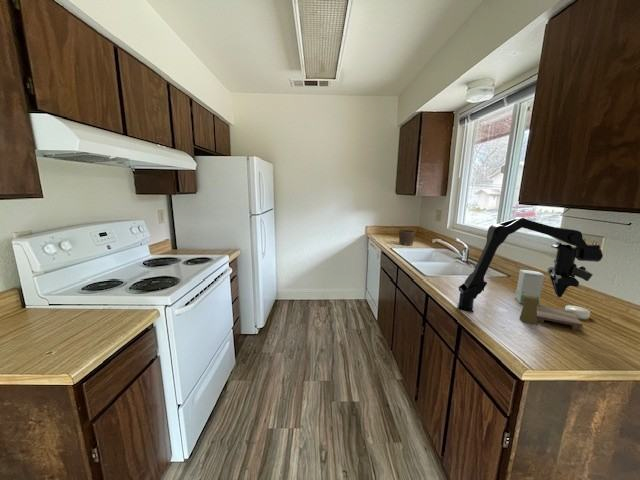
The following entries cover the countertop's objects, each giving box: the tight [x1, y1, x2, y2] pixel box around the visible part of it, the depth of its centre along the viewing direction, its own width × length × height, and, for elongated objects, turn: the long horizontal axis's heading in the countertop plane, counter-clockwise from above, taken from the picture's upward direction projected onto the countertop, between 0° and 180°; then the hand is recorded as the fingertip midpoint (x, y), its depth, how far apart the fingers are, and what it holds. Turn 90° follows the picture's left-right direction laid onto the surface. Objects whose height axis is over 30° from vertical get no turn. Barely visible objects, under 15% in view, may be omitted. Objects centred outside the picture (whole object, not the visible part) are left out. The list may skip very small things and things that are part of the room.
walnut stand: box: [537, 304, 584, 332], centre depth 112 cm, size 14×14×3 cm
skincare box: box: [514, 269, 545, 305], centre depth 130 cm, size 8×7×16 cm
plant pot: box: [397, 229, 417, 247], centre depth 261 cm, size 16×16×16 cm
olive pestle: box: [518, 295, 540, 325], centre depth 110 cm, size 6×6×11 cm
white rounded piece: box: [564, 304, 591, 320], centre depth 117 cm, size 8×8×3 cm
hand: (558, 295), depth 110 cm, fingers open, 3 cm apart
